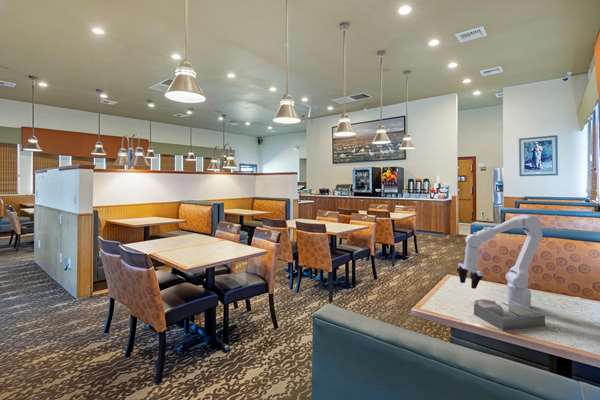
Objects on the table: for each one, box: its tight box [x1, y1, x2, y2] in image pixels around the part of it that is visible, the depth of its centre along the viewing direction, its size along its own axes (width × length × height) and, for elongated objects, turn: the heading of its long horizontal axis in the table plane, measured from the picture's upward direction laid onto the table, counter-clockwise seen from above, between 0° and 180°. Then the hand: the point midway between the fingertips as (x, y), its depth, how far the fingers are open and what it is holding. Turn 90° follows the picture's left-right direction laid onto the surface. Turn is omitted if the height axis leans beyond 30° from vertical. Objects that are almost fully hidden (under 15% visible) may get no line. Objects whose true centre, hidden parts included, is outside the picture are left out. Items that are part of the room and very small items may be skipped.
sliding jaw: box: [508, 301, 540, 316], centre depth 135 cm, size 2×13×4 cm, turn 11°
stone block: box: [473, 298, 504, 317], centre depth 143 cm, size 12×5×10 cm
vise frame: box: [473, 303, 546, 331], centre depth 132 cm, size 20×16×4 cm
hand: (468, 285), depth 153 cm, fingers open, 7 cm apart
